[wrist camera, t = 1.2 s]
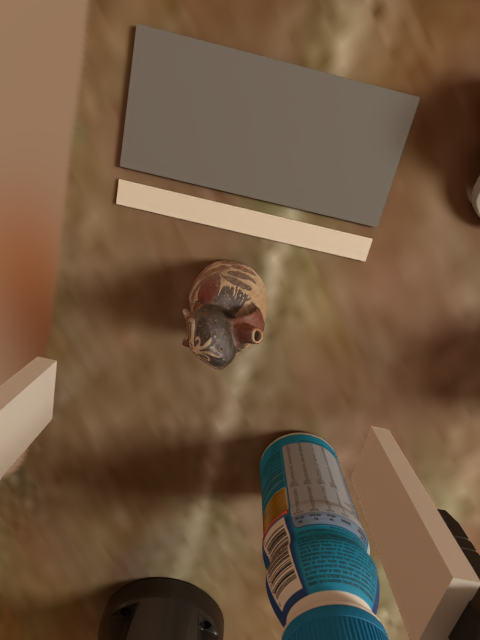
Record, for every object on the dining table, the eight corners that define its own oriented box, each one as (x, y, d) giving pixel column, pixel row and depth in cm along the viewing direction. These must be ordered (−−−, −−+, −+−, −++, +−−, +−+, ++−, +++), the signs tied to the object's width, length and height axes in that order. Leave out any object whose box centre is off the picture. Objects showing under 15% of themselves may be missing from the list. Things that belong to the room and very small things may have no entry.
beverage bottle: (325, 418, 39) (403, 633, 20) (346, 482, 41) (434, 728, 22) (247, 441, 40) (249, 667, 21) (272, 503, 42) (295, 755, 23)
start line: (364, 261, 34) (365, 261, 33) (117, 203, 32) (116, 203, 32) (371, 238, 33) (372, 239, 33) (120, 179, 32) (119, 179, 32)
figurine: (182, 266, 34) (151, 302, 23) (260, 252, 34) (269, 282, 22) (198, 339, 36) (177, 406, 25) (272, 328, 36) (285, 390, 24)
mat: (375, 227, 33) (377, 227, 32) (121, 166, 32) (119, 166, 31) (417, 99, 30) (420, 97, 29) (138, 26, 28) (136, 23, 28)
